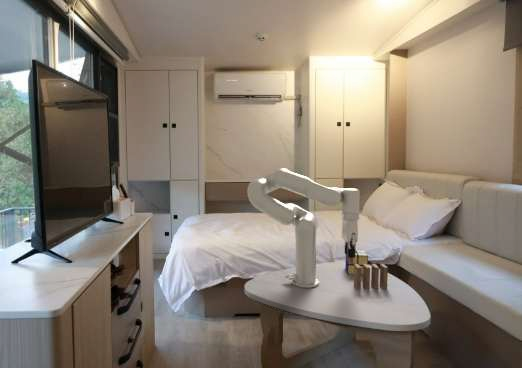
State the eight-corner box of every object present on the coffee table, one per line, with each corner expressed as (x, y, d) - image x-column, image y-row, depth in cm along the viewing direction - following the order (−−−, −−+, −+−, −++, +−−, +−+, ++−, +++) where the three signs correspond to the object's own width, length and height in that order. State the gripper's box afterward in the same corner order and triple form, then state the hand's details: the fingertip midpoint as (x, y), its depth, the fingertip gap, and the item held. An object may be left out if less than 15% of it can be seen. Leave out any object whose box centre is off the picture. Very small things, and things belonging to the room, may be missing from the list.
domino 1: (349, 264, 156) (350, 242, 155) (346, 261, 161) (347, 239, 160) (353, 264, 156) (353, 242, 155) (350, 260, 161) (350, 239, 160)
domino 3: (366, 289, 157) (366, 267, 156) (362, 285, 162) (363, 264, 161) (369, 289, 157) (370, 267, 156) (365, 285, 162) (366, 264, 161)
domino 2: (357, 289, 157) (357, 267, 156) (353, 285, 162) (354, 264, 161) (360, 289, 157) (361, 267, 156) (357, 285, 162) (358, 264, 161)
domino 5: (383, 289, 157) (384, 267, 156) (379, 284, 162) (380, 263, 161) (387, 289, 157) (387, 267, 156) (382, 284, 162) (383, 263, 161)
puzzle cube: (345, 267, 187) (345, 249, 186) (364, 268, 185) (365, 250, 184) (347, 274, 177) (347, 255, 176) (367, 275, 175) (368, 255, 174)
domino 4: (374, 289, 157) (375, 267, 156) (371, 285, 162) (371, 264, 161) (378, 289, 157) (379, 267, 156) (374, 284, 162) (375, 264, 161)
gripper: (337, 212, 165) (337, 250, 166) (347, 219, 148) (346, 261, 149) (353, 212, 165) (352, 250, 166) (364, 219, 148) (364, 261, 150)
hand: (349, 255), depth 158 cm, fingers closed on domino 1, 4 cm apart
